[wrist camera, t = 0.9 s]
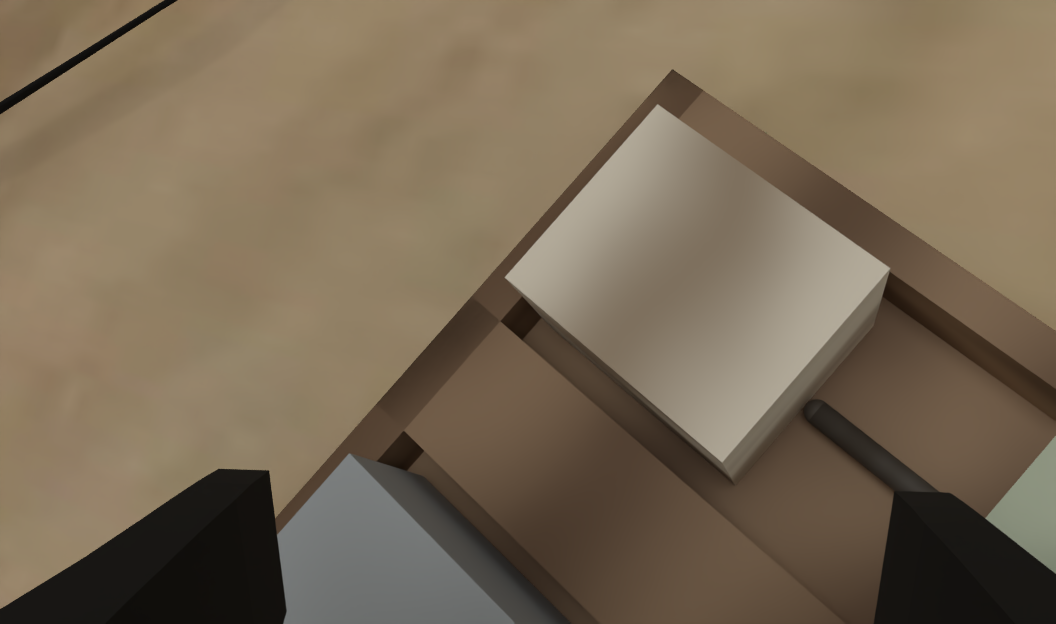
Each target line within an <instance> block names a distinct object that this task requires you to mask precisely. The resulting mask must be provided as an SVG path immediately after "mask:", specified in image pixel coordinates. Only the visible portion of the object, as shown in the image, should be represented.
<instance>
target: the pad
mask: <svg viewBox="0 0 1056 624" xmlns="http://www.w3.org/2000/svg"><path fill="white" fill-rule="evenodd" d="M985 519H987V520H988V521H989V522H991V523H992V524H993V525H994V526H996V527H997V528H998V529H999V530H1001V531H1002V532H1003V533H1005V534H1006V535H1007V536H1008V537H1010V538H1011V539H1012V540H1013V541H1015V542H1016V543H1017V544H1018V545H1020V546H1021V547H1022V548H1024V549H1025V550H1026V551H1027V552H1029V553H1030V554H1031V555H1032V556H1034V557H1035V558H1036V559H1038V560H1039V561H1040V562H1041V563H1043V564H1044V565H1045V566H1047V567H1048V568H1049V569H1050V570H1052V571H1053V572H1054V573H1056V436H1055V437H1054V438H1053V439H1052V441H1051V442H1050V443H1049V444H1048V445H1047V447H1046V448H1045V449H1044V450H1043V451H1042V452H1041V454H1040V455H1039V456H1038V457H1037V458H1036V459H1035V461H1034V462H1033V463H1032V464H1031V465H1030V466H1029V468H1028V469H1027V470H1026V471H1025V472H1024V473H1023V475H1022V476H1021V477H1020V478H1019V479H1018V481H1017V482H1016V483H1015V484H1014V485H1013V486H1012V488H1011V489H1010V490H1009V491H1008V492H1007V493H1006V495H1005V496H1004V497H1003V498H1002V499H1001V500H1000V502H999V503H998V504H997V505H996V506H995V507H994V509H993V510H992V511H991V512H990V513H989V514H988V516H987V517H986V518H985Z"/></svg>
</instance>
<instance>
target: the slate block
mask: <svg viewBox="0 0 1056 624" xmlns="http://www.w3.org/2000/svg"><path fill="white" fill-rule="evenodd" d="M277 538H278V546H279V554H280V562H281V570H282V578H283V586H284V593H285V601H286V609H287V612H286V616H285V619H284V623H283V624H571V623H570V622H569V621H568V620H567V619H566V618H565V617H564V616H563V615H562V614H561V613H560V612H559V611H558V610H557V609H556V608H555V607H554V606H553V605H552V604H551V603H550V602H549V601H548V600H547V599H546V598H545V597H544V596H543V595H542V594H541V593H540V592H539V591H538V590H537V589H536V588H535V587H534V586H533V585H532V584H531V583H530V582H529V581H528V580H527V579H526V578H525V577H524V576H523V575H522V574H521V573H520V572H519V571H518V570H517V569H516V568H515V567H514V566H513V565H512V564H511V563H510V562H509V561H508V560H507V559H506V558H505V557H504V556H503V555H502V554H501V553H500V552H499V551H498V550H497V549H496V548H495V547H494V546H493V545H492V544H491V543H490V542H489V541H488V540H487V539H486V538H485V537H484V536H483V535H482V534H481V533H480V532H479V531H478V530H477V529H476V528H475V527H474V526H473V525H472V524H471V523H470V522H469V521H468V520H467V519H466V518H465V517H464V516H463V515H462V514H461V513H460V512H459V511H458V510H457V509H456V508H455V507H454V506H453V505H452V504H451V503H450V502H449V501H448V500H447V499H446V498H445V497H444V496H443V495H442V494H441V493H440V492H439V491H438V490H437V489H436V488H435V487H434V486H433V485H432V484H431V483H430V482H429V481H428V480H427V479H426V478H425V477H424V476H422V475H418V474H415V473H412V472H409V471H405V470H402V469H399V468H396V467H392V466H389V465H386V464H383V463H379V462H376V461H373V460H370V459H367V458H363V457H360V456H357V455H354V454H350V453H349V454H348V455H347V456H346V458H345V459H344V460H343V461H342V462H341V463H340V464H339V466H338V467H337V468H336V469H335V470H334V471H333V472H332V473H331V475H330V476H329V477H328V478H327V479H326V480H325V481H324V483H323V484H322V485H321V486H320V487H319V488H318V489H317V490H316V492H315V493H314V494H313V495H312V496H311V497H310V498H309V499H308V501H307V502H306V503H305V504H304V505H303V506H302V507H301V509H300V510H299V511H298V512H297V513H296V514H295V515H294V516H293V518H292V519H291V520H290V521H289V522H288V523H287V524H286V526H285V527H284V528H283V529H282V530H281V531H280V532H279V533H278V535H277Z"/></svg>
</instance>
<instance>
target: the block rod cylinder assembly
mask: <svg viewBox="0 0 1056 624" xmlns="http://www.w3.org/2000/svg"><path fill="white" fill-rule="evenodd" d="M889 271H890V268H889V267H888V266H886V265H885V264H883V263H882V262H881V261H879V260H878V259H876V258H875V257H874V256H872V255H871V254H869V253H868V252H866V251H865V250H864V249H862V248H861V247H859V246H858V245H857V244H855V243H854V242H852V241H851V240H849V239H848V238H847V237H845V236H844V235H842V234H841V233H839V232H838V231H837V230H835V229H834V228H832V227H831V226H830V225H828V224H827V223H825V222H824V221H822V220H821V219H820V218H818V217H817V216H815V215H814V214H813V213H811V212H810V211H808V210H807V209H805V208H804V207H803V206H801V205H800V204H798V203H797V202H796V201H794V200H793V199H791V198H790V197H788V196H787V195H786V194H784V193H783V192H781V191H780V190H778V189H777V188H776V187H774V186H773V185H771V184H770V183H769V182H767V181H766V180H764V179H763V178H761V177H760V176H759V175H757V174H756V173H754V172H753V171H752V170H750V169H749V168H747V167H746V166H744V165H743V164H742V163H740V162H739V161H737V160H736V159H735V158H733V157H732V156H730V155H729V154H727V153H726V152H725V151H723V150H722V149H720V148H719V147H717V146H716V145H715V144H713V143H712V142H710V141H709V140H708V139H706V138H705V137H703V136H702V135H700V134H699V133H698V132H696V131H695V130H693V129H692V128H691V127H689V126H688V125H686V124H685V123H683V122H682V121H681V120H679V119H678V118H676V117H675V116H674V115H672V114H671V113H669V112H668V111H666V110H665V109H664V108H662V107H661V106H659V105H658V104H657V105H656V107H655V108H654V109H653V110H652V111H651V112H650V113H649V115H648V116H647V117H646V118H645V119H644V120H643V121H642V122H641V124H640V125H639V126H638V127H637V128H636V129H635V130H634V131H633V133H632V134H631V135H630V136H629V137H628V138H627V139H626V141H625V142H624V143H623V144H622V145H621V146H620V147H619V148H618V150H617V151H616V152H615V153H614V154H613V155H612V156H611V158H610V159H609V160H608V161H607V162H606V163H605V164H604V165H603V167H602V168H601V169H600V170H599V171H598V172H597V173H596V175H595V176H594V177H593V178H592V179H591V180H590V181H589V182H588V184H587V185H586V186H585V187H584V188H583V189H582V190H581V192H580V193H579V194H578V195H577V196H576V197H575V198H574V199H573V201H572V202H571V203H570V204H569V205H568V206H567V207H566V208H565V210H564V211H563V212H562V213H561V214H560V215H559V216H558V218H557V219H556V220H555V221H554V222H553V223H552V224H551V225H550V227H549V228H548V229H547V230H546V231H545V232H544V233H543V235H542V236H541V237H540V238H539V239H538V240H537V241H536V242H535V244H534V245H533V246H532V247H531V248H530V249H529V250H528V252H527V253H526V254H525V255H524V256H523V257H522V258H521V259H520V261H519V262H518V263H517V264H516V265H515V266H514V267H513V269H512V270H511V271H510V272H509V273H508V274H507V275H506V276H505V278H506V279H507V280H508V282H509V283H510V284H511V285H512V286H513V287H514V288H515V289H516V290H517V291H518V292H519V293H520V294H521V296H522V297H523V298H524V299H525V300H526V301H527V302H528V303H529V304H530V305H531V306H532V307H533V308H534V310H535V311H536V312H537V313H538V314H539V315H540V316H541V317H542V318H543V319H544V320H545V321H546V322H547V324H548V325H549V326H550V327H551V328H552V329H553V330H554V331H555V332H557V333H558V334H559V335H560V336H561V337H562V338H564V339H565V340H566V341H567V342H568V343H569V344H571V345H572V346H573V347H574V348H575V349H576V350H578V351H579V352H580V353H581V354H582V355H584V356H585V357H586V358H587V359H588V360H589V361H591V362H592V363H593V364H594V365H595V366H596V367H598V368H599V369H600V370H601V371H602V372H603V373H605V374H606V375H607V376H608V377H609V378H610V379H612V380H613V381H614V382H615V383H616V384H617V385H619V386H620V387H621V388H622V389H623V390H624V391H626V392H627V393H628V394H629V395H630V396H631V397H633V398H634V399H635V400H636V401H637V402H638V403H640V404H641V405H642V406H643V407H644V408H645V409H647V410H648V411H649V412H650V413H651V414H652V415H654V416H655V417H656V418H657V419H658V420H659V421H661V422H662V423H663V424H664V425H665V426H666V427H668V428H669V429H670V430H671V431H672V432H673V433H675V434H676V435H677V436H678V437H679V438H680V439H682V440H683V441H684V442H685V443H686V444H687V445H689V446H690V447H691V448H692V449H693V450H694V451H696V452H697V453H698V454H699V455H700V456H701V457H703V458H704V459H705V460H706V461H707V462H708V463H710V464H711V465H712V466H713V467H714V468H715V469H717V470H718V471H719V472H720V473H721V474H722V475H724V476H725V477H726V478H727V479H728V480H729V481H731V482H732V483H733V484H734V485H736V484H737V483H738V482H739V481H740V480H741V479H742V477H743V476H744V475H745V474H746V473H747V472H748V470H749V469H750V468H751V467H752V466H753V465H754V464H755V462H756V461H757V460H758V459H759V458H760V457H761V455H762V454H763V453H764V452H765V451H766V450H767V448H768V447H769V446H770V445H771V444H772V443H773V442H774V440H775V439H776V438H777V437H778V436H779V435H780V433H781V432H782V431H783V430H784V429H785V428H786V427H787V425H788V424H789V423H790V422H791V421H792V420H793V418H794V417H795V416H796V415H797V414H798V413H799V411H800V410H801V409H802V408H803V407H804V406H805V407H804V416H805V418H806V420H807V421H808V422H809V423H810V424H812V425H813V426H814V427H815V428H817V429H818V430H819V431H820V432H822V433H823V434H824V435H825V436H827V437H828V438H829V439H830V440H832V441H833V442H834V443H835V444H837V445H838V446H839V447H840V448H842V449H843V450H844V451H845V452H847V453H848V454H849V455H850V456H852V457H853V458H854V459H855V460H857V461H858V462H859V463H860V464H862V465H863V466H864V467H865V468H867V469H868V470H869V471H870V472H872V473H873V474H874V475H875V476H877V477H878V478H879V479H880V480H882V481H883V482H884V483H885V484H887V485H888V486H889V487H890V488H892V489H893V490H894V491H914V492H939V491H938V490H937V489H935V488H934V487H933V486H932V485H930V484H929V483H928V482H927V481H925V480H924V479H923V478H921V477H920V476H919V475H918V474H916V473H915V472H914V471H913V470H911V469H910V468H909V467H907V466H906V465H905V464H904V463H902V462H901V461H900V460H899V459H897V458H896V457H895V456H893V455H892V454H891V453H890V452H888V451H887V450H886V449H885V448H883V447H882V446H881V445H879V444H878V443H877V442H876V441H874V440H873V439H872V438H871V437H869V436H868V435H867V434H865V433H864V432H863V431H862V430H860V429H859V428H858V427H856V426H855V425H854V424H853V423H851V422H850V421H849V420H848V419H846V418H845V417H844V416H842V415H841V414H840V413H839V412H837V411H836V410H835V409H834V408H832V407H831V406H830V405H828V404H827V403H826V402H824V401H823V400H820V399H814V400H811V401H809V400H810V399H811V398H812V396H813V395H814V394H815V393H816V392H817V391H818V390H819V388H820V387H821V386H822V385H823V384H824V383H825V381H826V380H827V379H828V378H829V377H830V376H831V375H832V373H833V372H834V371H835V370H836V369H837V368H838V366H839V365H840V364H841V363H842V362H843V361H844V359H845V358H846V357H847V356H848V355H849V354H850V353H851V351H852V350H853V349H854V348H855V347H856V346H857V344H858V343H859V342H860V341H861V340H862V339H863V338H864V336H865V335H866V334H867V333H868V332H869V331H870V329H871V328H872V327H873V326H874V323H875V319H876V316H877V312H878V309H879V306H880V302H881V299H882V295H883V292H884V288H885V285H886V282H887V278H888V275H889ZM808 401H809V402H808ZM807 402H808V403H807ZM806 403H807V404H806Z"/></svg>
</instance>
